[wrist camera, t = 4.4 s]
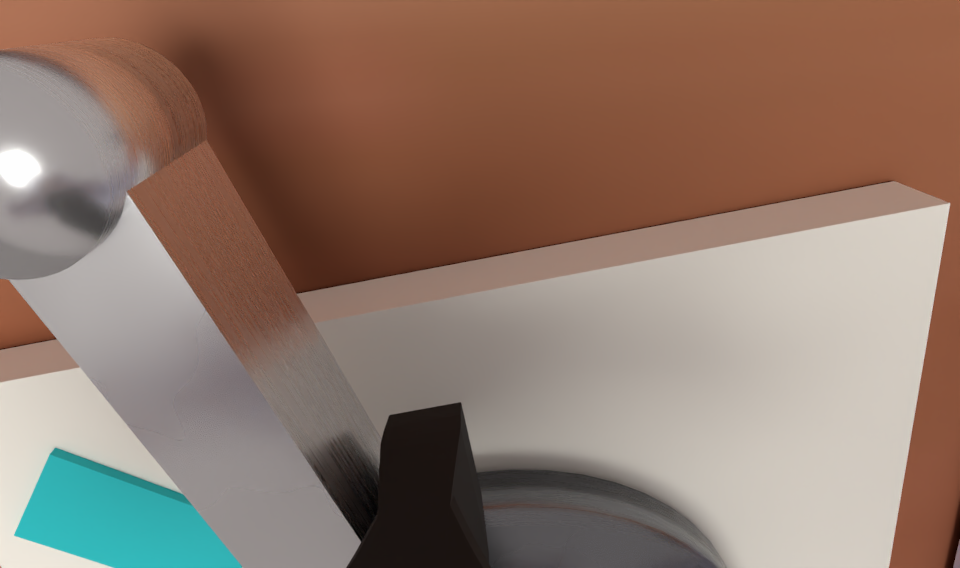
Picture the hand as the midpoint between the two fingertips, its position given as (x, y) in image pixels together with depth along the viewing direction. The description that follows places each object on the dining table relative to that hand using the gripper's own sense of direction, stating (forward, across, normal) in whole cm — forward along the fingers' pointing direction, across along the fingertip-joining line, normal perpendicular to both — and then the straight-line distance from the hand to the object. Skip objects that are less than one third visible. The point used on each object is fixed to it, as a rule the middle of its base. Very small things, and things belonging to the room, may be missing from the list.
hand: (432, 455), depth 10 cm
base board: (+3, 0, +8) cm, 9 cm away
